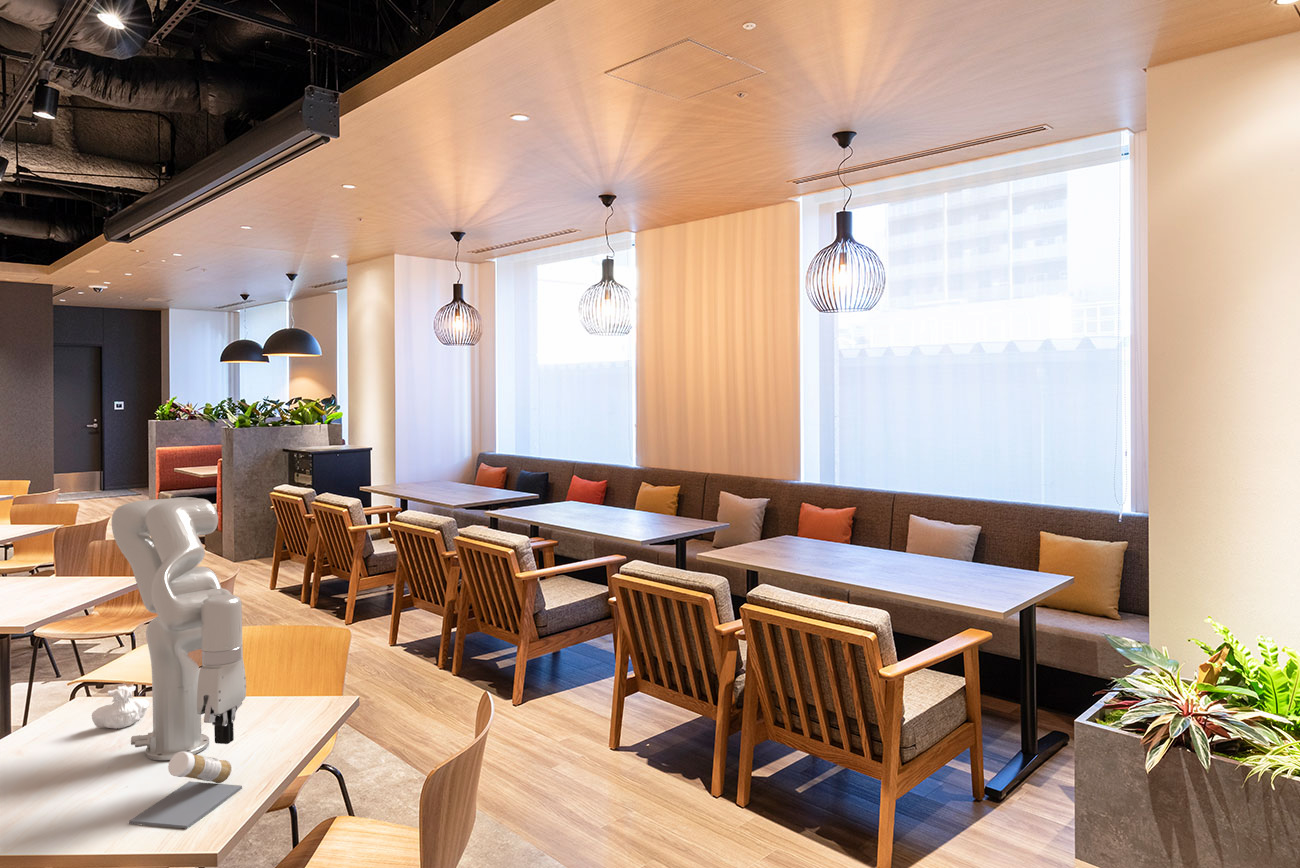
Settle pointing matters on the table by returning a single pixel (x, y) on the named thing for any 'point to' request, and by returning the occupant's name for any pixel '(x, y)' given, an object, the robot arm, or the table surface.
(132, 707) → the white tied bag
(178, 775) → the sprinkles bottle
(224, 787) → the mat
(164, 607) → the robot arm
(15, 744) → the table surface
